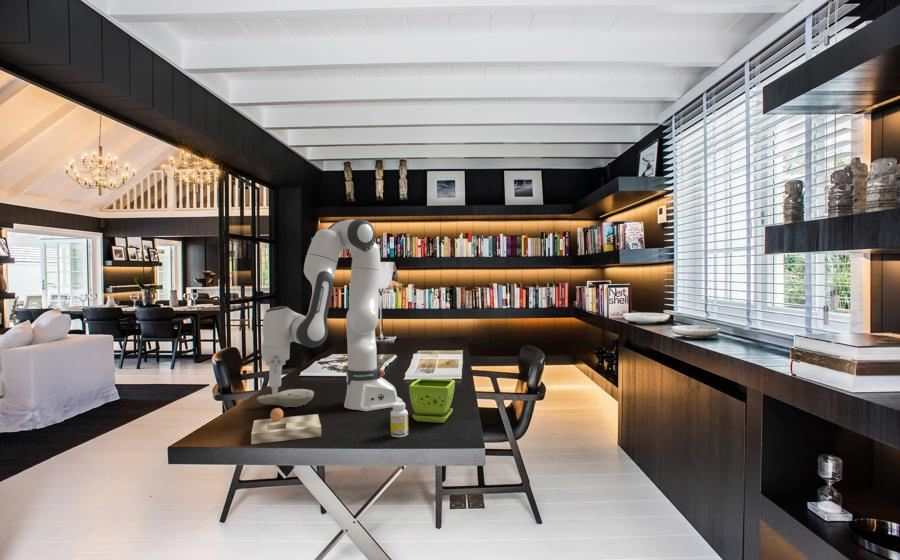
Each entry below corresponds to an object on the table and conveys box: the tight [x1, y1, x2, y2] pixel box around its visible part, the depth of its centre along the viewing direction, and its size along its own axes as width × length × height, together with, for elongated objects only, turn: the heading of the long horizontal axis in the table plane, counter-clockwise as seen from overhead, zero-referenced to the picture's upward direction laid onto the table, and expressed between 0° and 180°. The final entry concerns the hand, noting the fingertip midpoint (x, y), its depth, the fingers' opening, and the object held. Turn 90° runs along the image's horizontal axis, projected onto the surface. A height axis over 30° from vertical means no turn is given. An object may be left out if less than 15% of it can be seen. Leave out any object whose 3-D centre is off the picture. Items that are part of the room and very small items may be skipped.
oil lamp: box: [256, 388, 315, 408], centre depth 184 cm, size 21×14×5 cm
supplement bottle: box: [390, 401, 409, 438], centre depth 148 cm, size 5×5×10 cm
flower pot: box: [408, 378, 456, 424], centre depth 165 cm, size 14×14×13 cm
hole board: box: [250, 413, 322, 445], centre depth 151 cm, size 20×15×3 cm
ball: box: [269, 407, 284, 421], centre depth 154 cm, size 4×4×4 cm
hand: (274, 395), depth 161 cm, fingers closed
